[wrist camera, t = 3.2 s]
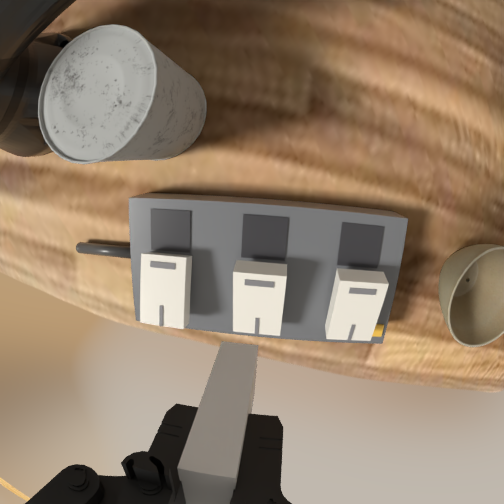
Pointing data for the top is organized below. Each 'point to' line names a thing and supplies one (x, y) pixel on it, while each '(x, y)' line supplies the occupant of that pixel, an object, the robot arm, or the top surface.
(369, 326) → the rocker
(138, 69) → the grey concrete cylinder
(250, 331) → the block
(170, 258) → the rocker
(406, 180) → the top surface
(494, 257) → the flower pot
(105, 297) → the top surface
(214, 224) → the power strip
